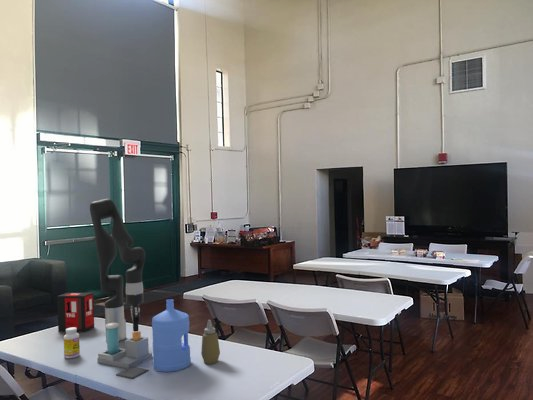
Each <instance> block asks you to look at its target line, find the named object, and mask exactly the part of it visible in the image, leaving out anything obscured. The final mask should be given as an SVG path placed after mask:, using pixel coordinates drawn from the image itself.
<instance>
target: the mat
mask: <svg viewBox="0 0 533 400" xmlns="http://www.w3.org/2000/svg"><path fill="white" fill-rule="evenodd" d="M147 372H149V369H147V368H144V367H143V368H142V367H139V366H132V367H130V368H125V369H124V370H122V371H120V372H117V373H115V376H117V377H122V378H126V379H129V380H134V379H135V378H137V377H139V376H141V375H143V374H146V373H147Z"/></svg>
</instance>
